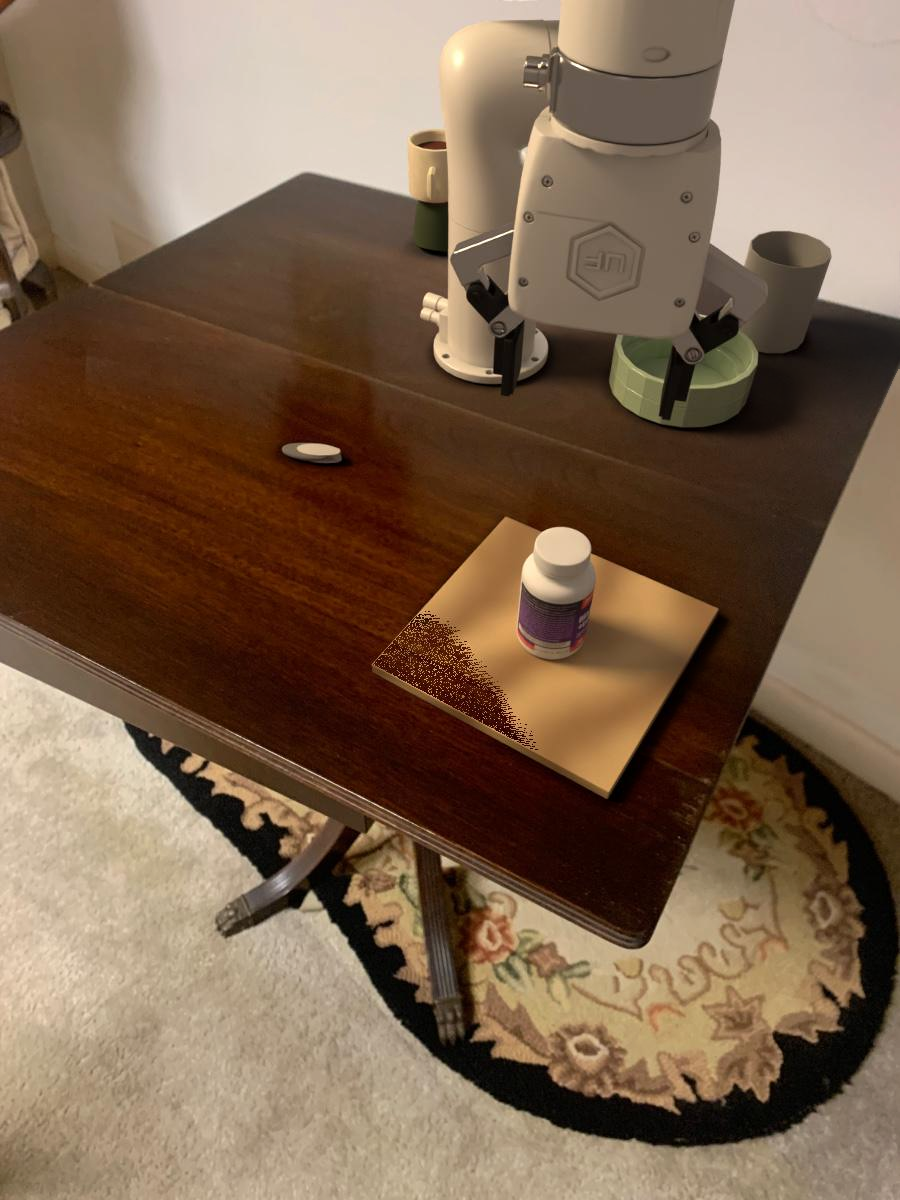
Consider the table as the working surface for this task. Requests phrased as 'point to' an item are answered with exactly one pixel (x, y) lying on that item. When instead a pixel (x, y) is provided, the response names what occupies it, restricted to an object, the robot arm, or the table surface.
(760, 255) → the cup
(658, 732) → the table surface
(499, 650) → the mat
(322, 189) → the table surface
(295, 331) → the table surface
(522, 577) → the pill bottle
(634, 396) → the bowl
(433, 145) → the character mug
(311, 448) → the oval pebble
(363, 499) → the table surface
